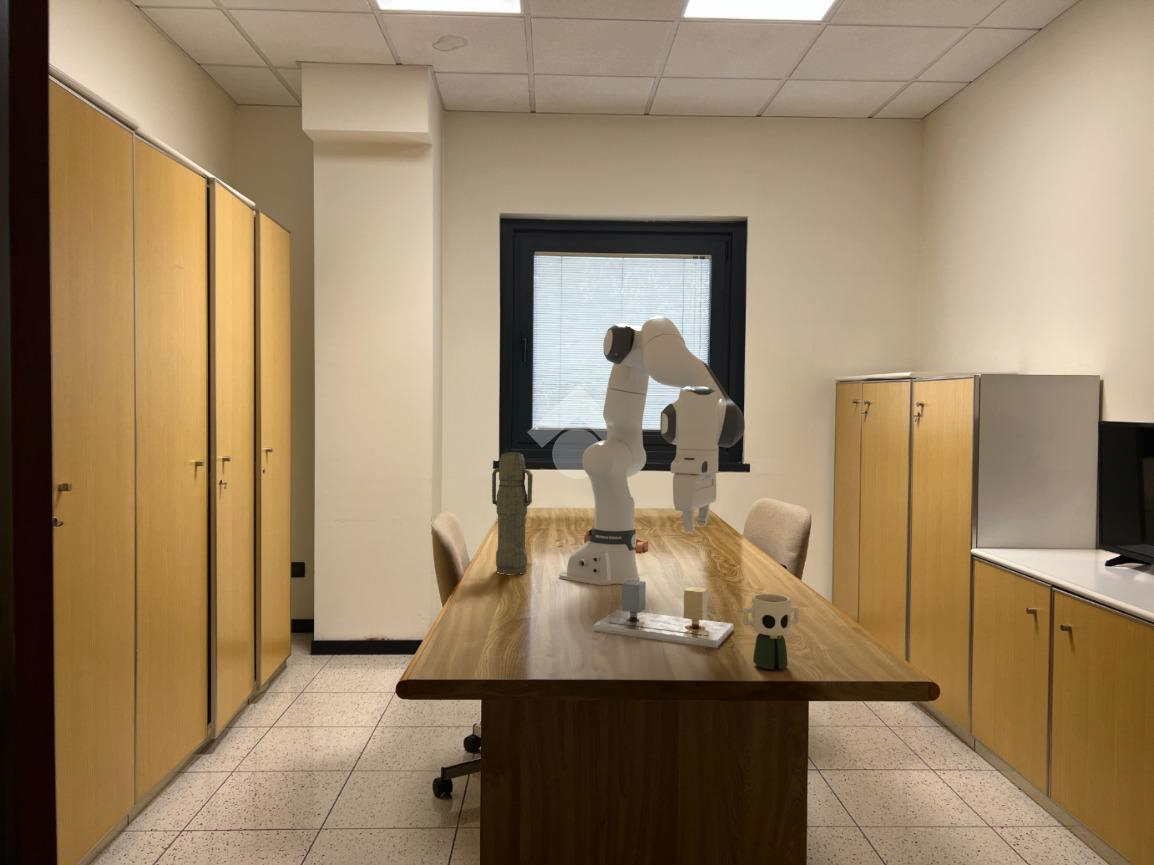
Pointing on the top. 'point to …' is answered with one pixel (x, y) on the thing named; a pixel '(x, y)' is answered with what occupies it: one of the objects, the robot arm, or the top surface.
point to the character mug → (771, 628)
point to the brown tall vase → (511, 512)
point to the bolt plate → (659, 622)
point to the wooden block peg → (695, 604)
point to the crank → (640, 544)
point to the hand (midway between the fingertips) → (695, 528)
